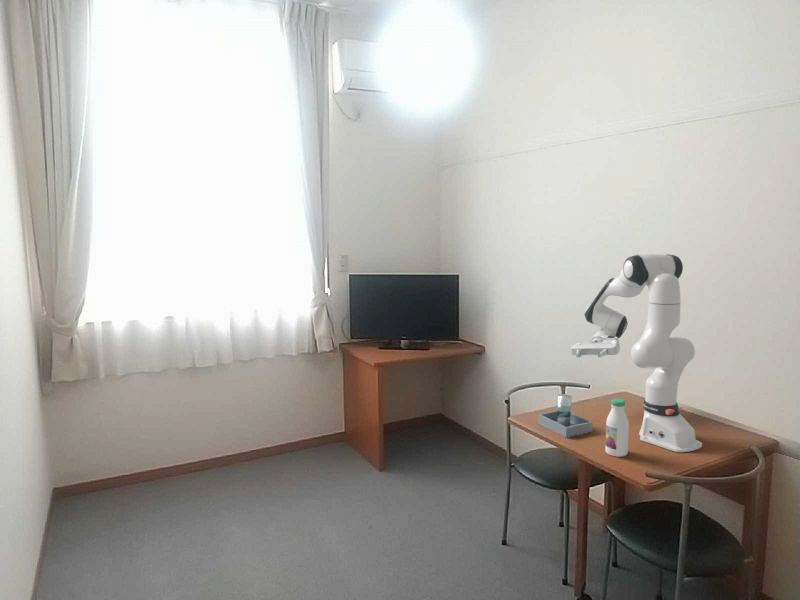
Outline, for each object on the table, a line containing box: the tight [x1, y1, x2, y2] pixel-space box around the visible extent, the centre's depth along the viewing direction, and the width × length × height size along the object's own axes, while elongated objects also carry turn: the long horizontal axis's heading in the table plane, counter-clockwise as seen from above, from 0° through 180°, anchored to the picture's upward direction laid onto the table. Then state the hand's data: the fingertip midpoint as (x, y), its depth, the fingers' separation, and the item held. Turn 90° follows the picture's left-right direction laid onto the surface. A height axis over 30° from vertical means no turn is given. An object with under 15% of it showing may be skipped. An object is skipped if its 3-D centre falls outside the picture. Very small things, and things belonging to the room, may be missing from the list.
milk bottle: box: [604, 398, 630, 458], centre depth 201 cm, size 8×8×20 cm
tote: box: [537, 410, 593, 439], centre depth 228 cm, size 17×13×4 cm
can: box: [556, 393, 573, 427], centre depth 229 cm, size 6×6×12 cm
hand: (588, 355), depth 237 cm, fingers open, 8 cm apart
